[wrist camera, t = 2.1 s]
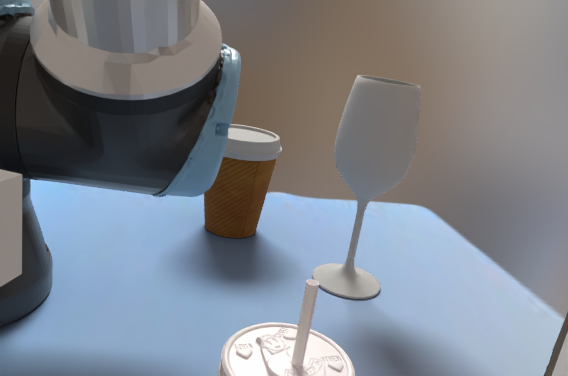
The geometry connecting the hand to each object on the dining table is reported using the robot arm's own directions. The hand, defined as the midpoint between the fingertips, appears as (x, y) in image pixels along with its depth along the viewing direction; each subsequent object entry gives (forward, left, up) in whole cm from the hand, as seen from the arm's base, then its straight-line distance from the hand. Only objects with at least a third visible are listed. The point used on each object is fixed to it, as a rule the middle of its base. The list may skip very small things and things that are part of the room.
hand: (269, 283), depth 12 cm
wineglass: (+2, +39, -19) cm, 43 cm away
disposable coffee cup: (-13, +46, -19) cm, 51 cm away
